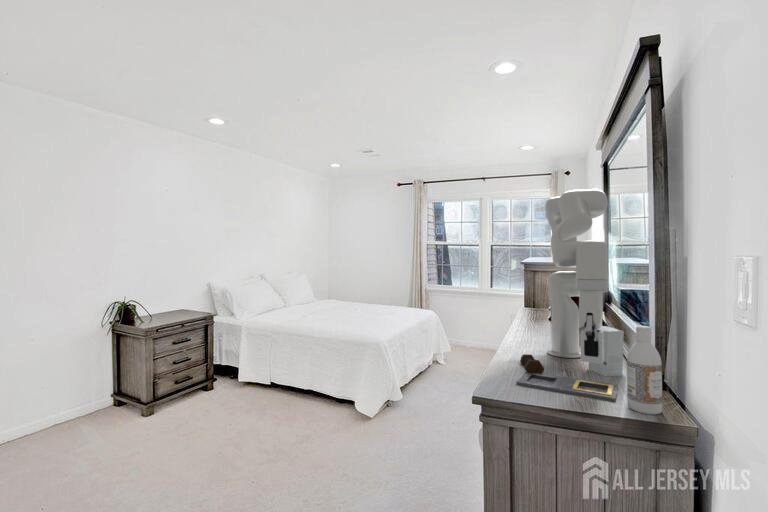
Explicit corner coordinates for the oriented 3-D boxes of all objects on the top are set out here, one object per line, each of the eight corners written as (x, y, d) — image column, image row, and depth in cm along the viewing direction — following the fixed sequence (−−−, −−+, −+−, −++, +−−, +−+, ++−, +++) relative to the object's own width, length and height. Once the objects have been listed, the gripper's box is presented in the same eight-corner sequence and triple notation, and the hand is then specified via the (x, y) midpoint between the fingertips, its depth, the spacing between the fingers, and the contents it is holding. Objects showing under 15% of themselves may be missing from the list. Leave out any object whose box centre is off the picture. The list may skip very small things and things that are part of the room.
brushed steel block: (583, 357, 107) (583, 327, 107) (604, 359, 104) (603, 328, 104) (581, 361, 102) (580, 329, 103) (602, 363, 100) (602, 331, 100)
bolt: (527, 369, 134) (537, 381, 119) (514, 361, 134) (522, 372, 120) (536, 355, 133) (547, 365, 118) (523, 347, 134) (532, 356, 119)
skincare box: (587, 372, 123) (587, 325, 123) (604, 371, 124) (604, 325, 124) (607, 380, 115) (606, 330, 115) (625, 379, 116) (624, 329, 116)
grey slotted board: (527, 377, 119) (527, 370, 119) (618, 391, 105) (618, 384, 105) (516, 388, 109) (516, 381, 109) (615, 405, 95) (615, 397, 95)
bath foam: (645, 416, 88) (644, 329, 89) (620, 405, 95) (619, 324, 95) (669, 413, 90) (668, 328, 90) (643, 403, 97) (642, 323, 97)
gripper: (580, 284, 113) (581, 346, 112) (571, 287, 98) (572, 358, 98) (609, 284, 108) (611, 349, 108) (604, 288, 94) (606, 362, 94)
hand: (592, 353), depth 103 cm, fingers closed on brushed steel block, 5 cm apart
